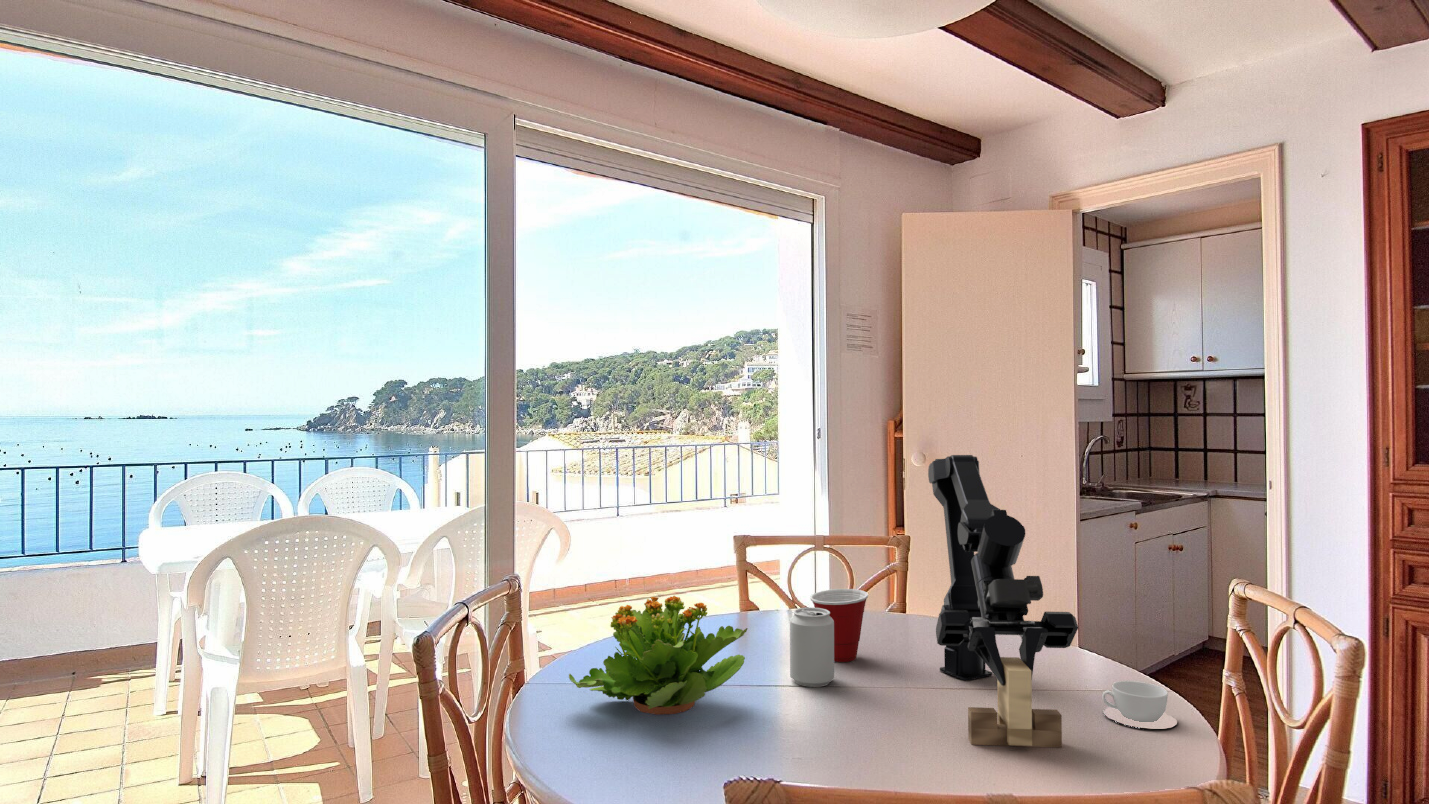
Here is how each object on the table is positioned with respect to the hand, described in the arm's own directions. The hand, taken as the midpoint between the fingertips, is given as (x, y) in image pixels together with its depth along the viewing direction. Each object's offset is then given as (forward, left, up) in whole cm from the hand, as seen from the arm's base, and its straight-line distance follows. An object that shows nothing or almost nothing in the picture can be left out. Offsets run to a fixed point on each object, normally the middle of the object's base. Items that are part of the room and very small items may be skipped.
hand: (1016, 684), depth 113 cm
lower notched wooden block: (-1, -1, -8) cm, 9 cm away
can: (+9, -36, -9) cm, 38 cm away
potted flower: (+35, -37, -9) cm, 52 cm away
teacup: (-24, +1, -9) cm, 26 cm away
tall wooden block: (-1, -1, -8) cm, 8 cm away
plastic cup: (-3, -45, -9) cm, 46 cm away
